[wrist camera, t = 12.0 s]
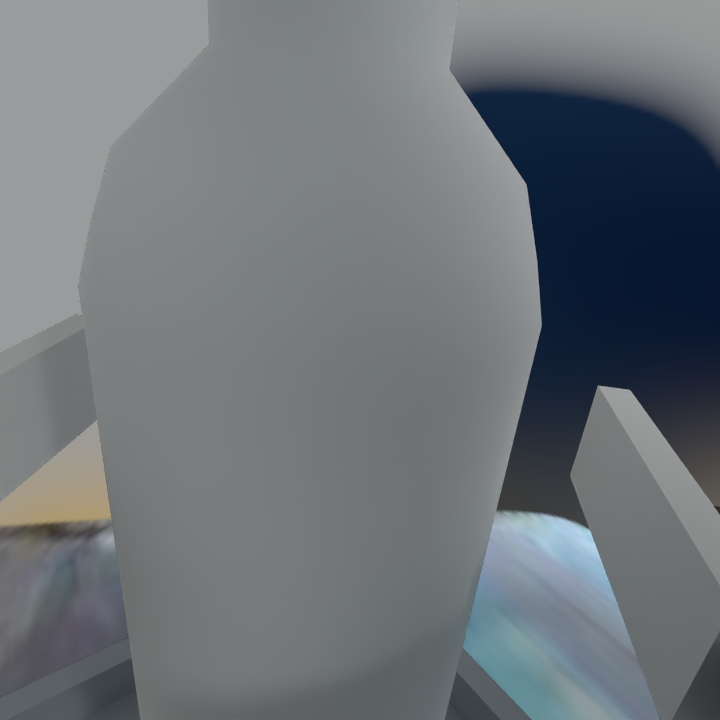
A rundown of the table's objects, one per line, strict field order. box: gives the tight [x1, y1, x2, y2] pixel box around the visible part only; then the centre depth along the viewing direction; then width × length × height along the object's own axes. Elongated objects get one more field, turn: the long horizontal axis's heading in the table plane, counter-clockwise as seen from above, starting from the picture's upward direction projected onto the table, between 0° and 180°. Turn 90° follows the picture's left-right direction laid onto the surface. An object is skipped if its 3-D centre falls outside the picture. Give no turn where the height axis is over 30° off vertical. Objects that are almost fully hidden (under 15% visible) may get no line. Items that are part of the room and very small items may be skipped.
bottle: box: [78, 0, 542, 720], centre depth 11 cm, size 8×8×30 cm
